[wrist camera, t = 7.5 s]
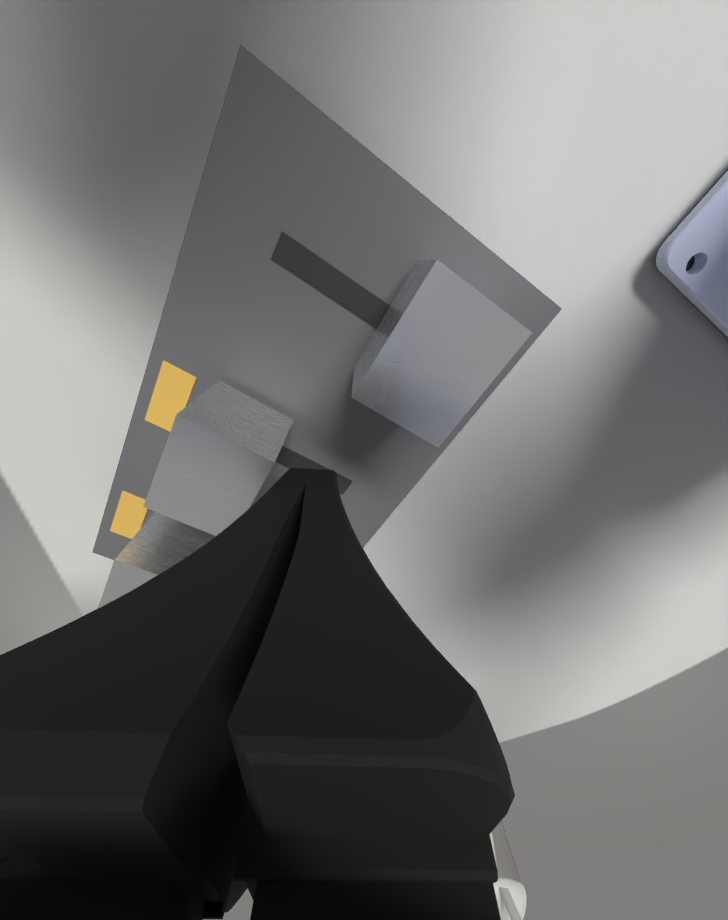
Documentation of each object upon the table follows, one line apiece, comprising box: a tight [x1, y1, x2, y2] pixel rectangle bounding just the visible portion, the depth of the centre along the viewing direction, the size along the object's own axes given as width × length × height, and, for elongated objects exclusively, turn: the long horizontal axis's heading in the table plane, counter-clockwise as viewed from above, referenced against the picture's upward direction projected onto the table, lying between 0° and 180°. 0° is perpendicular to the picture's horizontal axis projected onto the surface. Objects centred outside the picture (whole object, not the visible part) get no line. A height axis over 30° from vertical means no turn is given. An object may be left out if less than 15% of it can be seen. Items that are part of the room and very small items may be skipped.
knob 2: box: [143, 380, 293, 536], centre depth 9 cm, size 2×3×2 cm
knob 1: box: [98, 512, 216, 608], centre depth 11 cm, size 2×3×2 cm
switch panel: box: [93, 45, 561, 560], centre depth 11 cm, size 8×15×2 cm, turn 149°
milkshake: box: [489, 820, 526, 920], centre depth 17 cm, size 4×5×10 cm
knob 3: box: [352, 259, 532, 447], centre depth 7 cm, size 2×3×2 cm
